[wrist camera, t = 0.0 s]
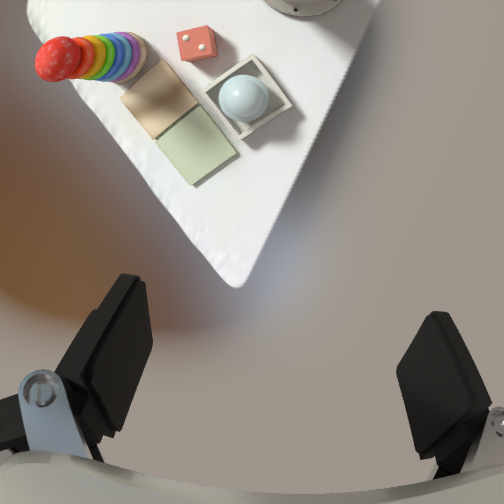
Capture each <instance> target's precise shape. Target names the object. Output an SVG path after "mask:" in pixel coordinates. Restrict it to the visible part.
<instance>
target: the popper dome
mask: <svg viewBox="0 0 504 504" xmlns="http://www.w3.org/2000/svg"><path fill="white" fill-rule="evenodd" d="M268 102H269V93H268V90H267V88H266V86H265V84H264V83H263V82H262V81H261V80H259V79H258V78H256V77H253V76H250V75H237V76H234V77H232V78H230V79H229V80H227V81H226V82H225V83H224V84H223V86H222V88H221V90H220V92H219V104H220V107H221V109H222V111H223V112H224V113H225V115H227V116H228V117H229V118H231V119H233V120H235V121H239V122H247V121H252V120H254V119H256V118H258V117H259V116H261V115H262V114H263V112H264V111H265V109H266V107H267V105H268Z"/></svg>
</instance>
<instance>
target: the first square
mask: <svg viewBox="0 0 504 504" xmlns="http://www.w3.org/2000/svg"><path fill="white" fill-rule="evenodd" d="M119 99H120V100H121V101H122V102H123V104H124V105H125V106H126V107H127V109H128V110H129V111H130V112H131V113H132V115H133V116H134V117H135V118H136V120H137V121H138V122H139V123H140V125H141V126H142V127H143V128H144V130H145V131H146V132H147V133H148V135H149V136H150V137H151V138H152V140H154V139H155V138H156V137H157V136H159V135H160V134H161V133H162V132H163V131H164V130H166V129H167V128H168V127H169V126H170V125H172V124H173V123H174V122H175V121H176V120H178V119H179V118H180V117H181V116H183V115H184V114H185V113H186V112H188V111H189V110H190V109H191V108H193V107H194V106H195V105H196V104H198V101H197V100H196V99H195V98H194V96H193V95H192V94H191V93H190V91H189V90H188V89H187V88H186V86H185V85H184V84H183V83H182V81H181V80H180V79H179V78H178V77H177V75H176V74H175V73H174V72H173V71H172V69H171V68H170V67H169V66H168V65H167V63H166V62H165V61H164V60H160V61H159V62H158V63H157V64H156V65H155V66H153V67H152V68H151V69H150V70H149V71H148V72H147V73H145V74H144V75H143V76H142V77H141V78H140V79H139V80H138V81H137V82H136V83H135V84H134V85H132V86H131V87H130V88H129V89H128V90H127V91H126V92H125V93H124V94H123V95H122V96H121V97H120V98H119Z"/></svg>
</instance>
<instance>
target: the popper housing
mask: <svg viewBox="0 0 504 504" xmlns="http://www.w3.org/2000/svg"><path fill="white" fill-rule="evenodd" d="M237 75H250V76H253V77H256V78H258V79H259V80H261V81H262V82H263V83H264V84H265V86H266V88H267V90H268V93H269V102H268V105H267V107H266V109H265V111H264V112H263V114H262V115H261V116H259V117H258V118H256V119H254V120H252V121H247V122H239V121H235V120H233V119H231V118H229V117H228V116H227V115H225V113H224V112H223V111H222V109H221V107H220V104H219V92H220V90H221V88H222V86H223V84H224V83H225V82H226V81H227V80H229V79H230V78H232V77H234V76H237ZM199 92H200V94H201V95H202V96H203V97H204V99H205V100H206V101H207V102H208V104H209V105H210V106H211V108H212V109H213V110H214V111H215V113H216V114H217V115H218V116H219V118H220V119H221V120H222V122H223V123H224V124H225V125H226V127H227V128H228V129H229V131H230V132H231V133H232V135H233V136H234V137H235V138H236V140H237V141H240V140H241V139H243V138H244V137H246V136H247V135H248V134H250V133H251V132H253V131H254V130H256V129H257V128H259V127H260V126H262V125H263V124H265V123H266V122H268V121H269V120H271V119H273V118H274V117H276V116H277V115H279V114H280V113H282V112H283V111H285V110H287V109H288V108H290V107H291V106H292V105H291V103H290V102H289V100H288V99H287V98H286V96H285V95H284V93H283V92H282V91H281V89H280V88H279V87H278V85H277V84H276V83H275V81H274V80H273V79H272V77H271V76H270V75H269V73H268V72H267V71H266V69H265V68H264V67H263V65H262V64H261V63H260V62H259V60H258V59H257V58H256V57H255V55H254V54H251V55H250V56H248V57H247V58H245V59H244V60H242V61H241V62H239V63H238V64H236V65H235V66H234V67H232V68H231V69H229V70H228V71H226V72H225V73H224V74H222V75H221V76H219V77H218V78H217V79H215V80H214V81H213V82H211V83H210V84H208V85H207V86H206V87H204V88H203V89H202V90H201V91H199Z"/></svg>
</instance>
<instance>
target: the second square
mask: <svg viewBox="0 0 504 504" xmlns="http://www.w3.org/2000/svg"><path fill="white" fill-rule="evenodd" d="M155 143H156V144H157V146H158V147H159V148H160V149H161V151H162V152H163V153H164V154H165V156H166V157H167V158H168V159H169V161H170V162H171V163H172V164H173V165H174V167H175V168H176V169H177V170H178V172H179V173H180V174H181V175H182V177H183V178H184V179H185V180H186V181H187V183H188V184H189V185H190V186H191V185H193V184H194V183H195V182H197V181H198V180H199V179H201V178H202V177H203V176H205V175H206V174H208V173H209V172H210V171H212V170H213V169H214V168H216V167H217V166H219V165H220V164H221V163H223V162H224V161H226V160H227V159H229V158H230V157H231V156H233V155H234V154H236V153H237V151H236V150H235V149H234V147H233V146H232V145H231V143H230V142H229V141H228V140H227V138H226V137H225V136H224V134H223V133H222V132H221V130H220V129H219V128H218V127H217V125H216V124H215V123H214V122H213V120H212V119H211V118H210V116H209V115H208V114H207V113H206V111H205V110H204V109H203V108H202V106H199V107H197V108H196V109H195V110H194V111H192V112H191V113H190V114H188V115H187V116H186V117H185V118H183V119H182V120H181V121H180V122H179V123H177V124H176V125H175V126H174V127H172V128H171V129H170V130H169V131H168V132H166V133H165V134H164V135H163V136H162V137H161V138H159V139H158V140H157V141H156V142H155Z"/></svg>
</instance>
